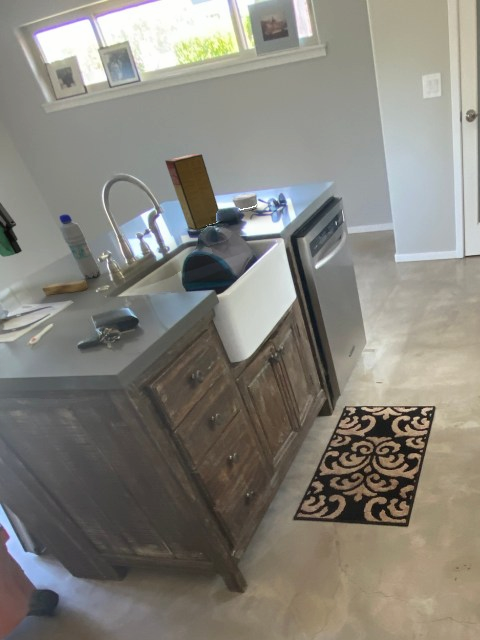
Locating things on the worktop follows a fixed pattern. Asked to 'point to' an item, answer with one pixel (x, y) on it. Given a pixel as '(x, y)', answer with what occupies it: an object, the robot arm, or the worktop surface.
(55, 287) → the stick
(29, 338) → the worktop surface
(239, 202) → the ramekin
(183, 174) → the food packaging
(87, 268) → the bottle
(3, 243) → the mug
